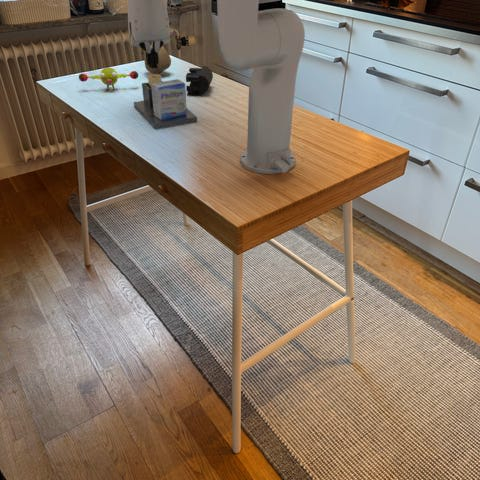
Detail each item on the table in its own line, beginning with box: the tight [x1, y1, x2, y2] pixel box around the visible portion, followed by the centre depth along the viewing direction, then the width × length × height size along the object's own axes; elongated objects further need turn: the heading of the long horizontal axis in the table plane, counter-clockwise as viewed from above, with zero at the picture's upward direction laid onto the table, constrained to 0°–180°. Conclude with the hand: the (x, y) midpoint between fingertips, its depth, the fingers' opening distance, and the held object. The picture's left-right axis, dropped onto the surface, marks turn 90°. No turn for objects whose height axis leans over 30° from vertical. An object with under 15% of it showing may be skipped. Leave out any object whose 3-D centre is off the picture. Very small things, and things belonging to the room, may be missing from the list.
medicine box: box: [151, 79, 188, 120], centre depth 119 cm, size 8×4×9 cm, turn 124°
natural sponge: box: [143, 44, 172, 75], centre depth 153 cm, size 9×9×10 cm
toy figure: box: [78, 67, 139, 92], centre depth 140 cm, size 18×6×7 cm, turn 103°
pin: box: [147, 73, 163, 88], centre depth 126 cm, size 4×4×5 cm
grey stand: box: [133, 80, 198, 130], centre depth 124 cm, size 18×12×6 cm, turn 28°
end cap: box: [185, 65, 214, 97], centre depth 140 cm, size 10×7×7 cm
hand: (152, 66), depth 123 cm, fingers closed
